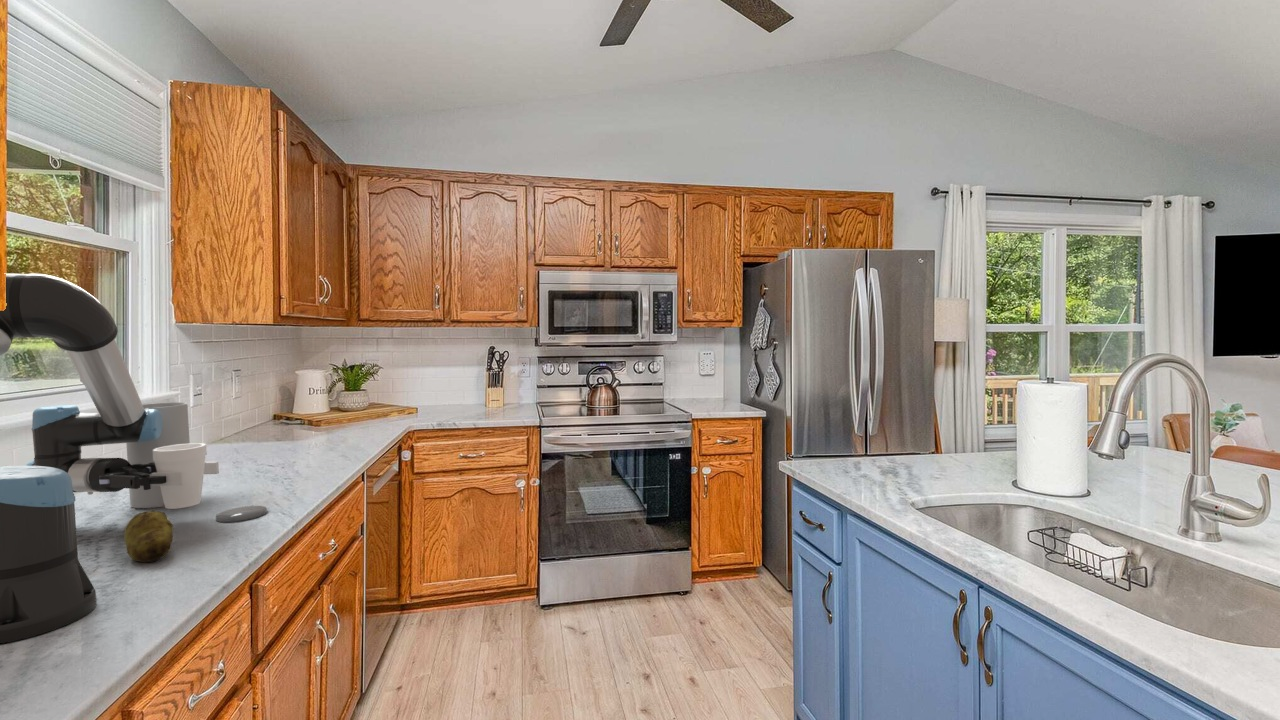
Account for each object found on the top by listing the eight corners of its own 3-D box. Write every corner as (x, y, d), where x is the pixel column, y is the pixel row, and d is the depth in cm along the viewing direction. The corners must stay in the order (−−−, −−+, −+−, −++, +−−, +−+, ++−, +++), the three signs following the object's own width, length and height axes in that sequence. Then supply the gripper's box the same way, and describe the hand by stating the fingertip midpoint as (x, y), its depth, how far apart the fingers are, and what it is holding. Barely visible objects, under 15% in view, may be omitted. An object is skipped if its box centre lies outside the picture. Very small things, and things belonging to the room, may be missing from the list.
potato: (112, 572, 108) (109, 528, 108) (131, 549, 119) (129, 510, 119) (169, 562, 112) (166, 521, 111) (183, 541, 123) (180, 503, 123)
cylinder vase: (128, 502, 152) (122, 405, 151) (189, 492, 161) (183, 401, 160) (132, 512, 143) (125, 410, 142) (196, 501, 152) (190, 404, 151)
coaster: (238, 523, 134) (238, 520, 134) (205, 520, 137) (204, 517, 137) (276, 510, 143) (276, 507, 143) (244, 507, 146) (244, 504, 146)
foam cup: (213, 503, 133) (210, 446, 132) (160, 513, 126) (157, 453, 126) (203, 496, 139) (200, 441, 139) (153, 505, 133) (149, 447, 132)
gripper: (144, 479, 144) (236, 477, 144) (53, 505, 122) (161, 503, 122) (143, 448, 144) (234, 447, 143) (51, 469, 121) (159, 467, 121)
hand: (200, 473), depth 132 cm, fingers closed on foam cup, 9 cm apart
